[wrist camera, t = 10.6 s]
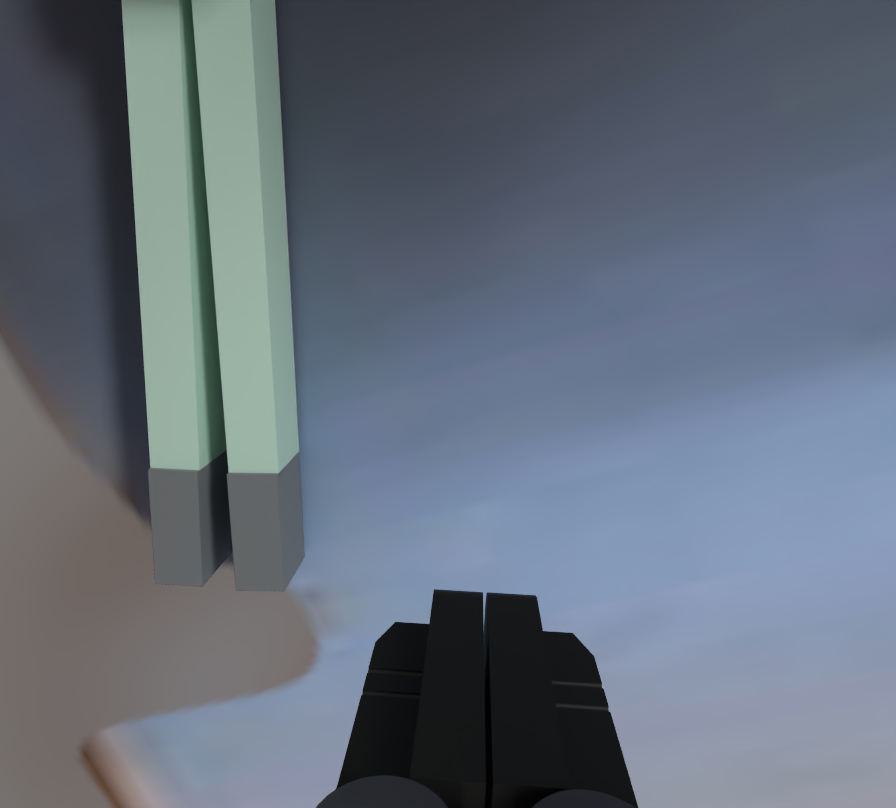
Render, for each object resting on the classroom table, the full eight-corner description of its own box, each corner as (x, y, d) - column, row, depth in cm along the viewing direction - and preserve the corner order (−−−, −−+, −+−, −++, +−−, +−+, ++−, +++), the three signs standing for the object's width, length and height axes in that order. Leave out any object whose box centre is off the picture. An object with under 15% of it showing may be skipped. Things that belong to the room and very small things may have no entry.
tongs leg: (144, -133, 24) (79, -210, 20) (218, -131, 24) (168, -209, 20) (179, 549, 30) (135, 592, 26) (239, 553, 30) (203, 597, 26)
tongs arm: (126, -149, 24) (40, -250, 19) (266, -153, 23) (214, -257, 19) (192, 554, 30) (139, 609, 25) (304, 556, 29) (272, 612, 25)
